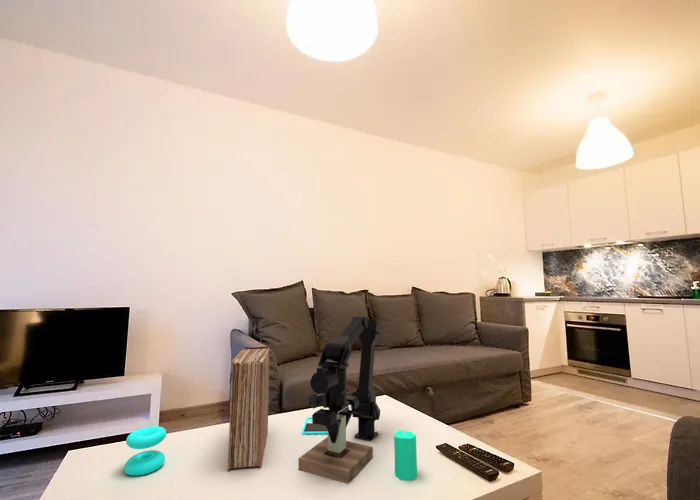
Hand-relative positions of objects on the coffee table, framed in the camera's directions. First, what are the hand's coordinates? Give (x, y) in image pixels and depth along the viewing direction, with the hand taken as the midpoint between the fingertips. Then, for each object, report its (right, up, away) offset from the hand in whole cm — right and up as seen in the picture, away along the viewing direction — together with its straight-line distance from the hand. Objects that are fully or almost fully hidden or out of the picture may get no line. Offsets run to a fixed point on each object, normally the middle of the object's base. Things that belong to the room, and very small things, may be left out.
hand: (337, 439), depth 100 cm
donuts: (-55, -7, -3) cm, 56 cm away
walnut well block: (0, -6, -1) cm, 6 cm away
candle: (+19, -6, -7) cm, 21 cm away
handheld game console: (-8, -11, +27) cm, 30 cm away
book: (-28, -8, +8) cm, 30 cm away
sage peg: (0, -3, 0) cm, 3 cm away
